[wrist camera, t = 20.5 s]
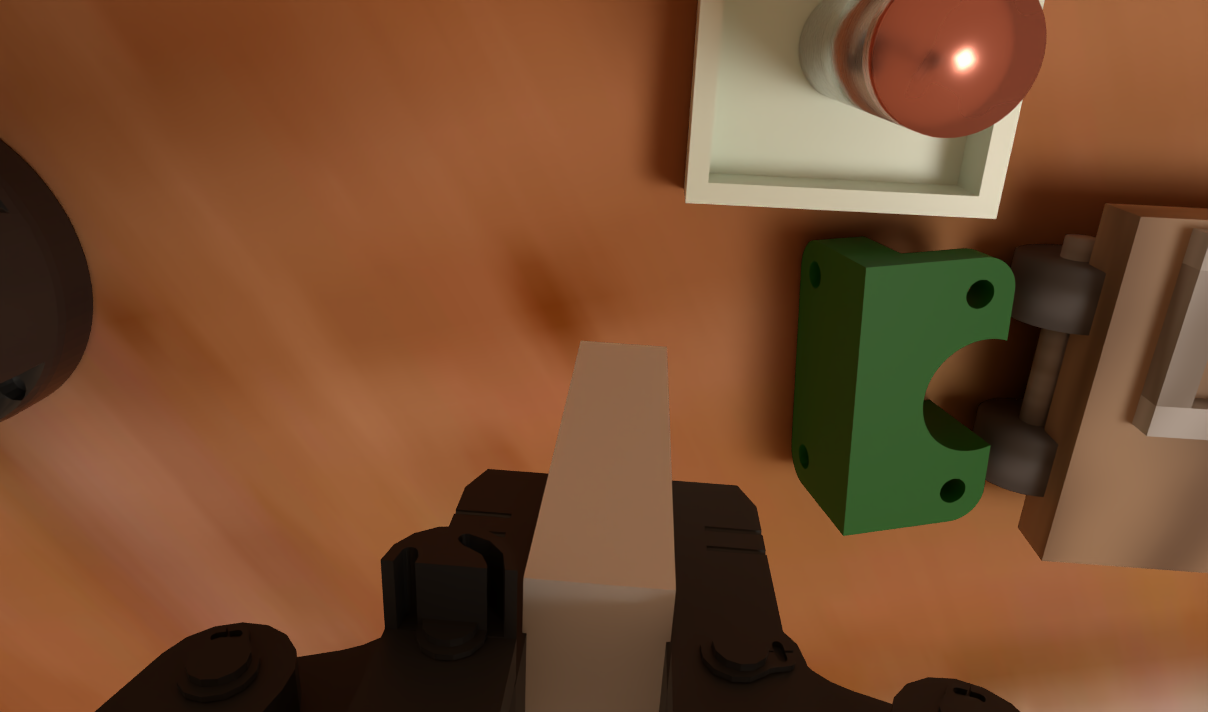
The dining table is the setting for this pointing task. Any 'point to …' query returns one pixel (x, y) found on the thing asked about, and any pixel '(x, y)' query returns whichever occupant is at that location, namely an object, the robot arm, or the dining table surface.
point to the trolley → (1112, 394)
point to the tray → (816, 131)
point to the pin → (926, 59)
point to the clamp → (889, 380)
